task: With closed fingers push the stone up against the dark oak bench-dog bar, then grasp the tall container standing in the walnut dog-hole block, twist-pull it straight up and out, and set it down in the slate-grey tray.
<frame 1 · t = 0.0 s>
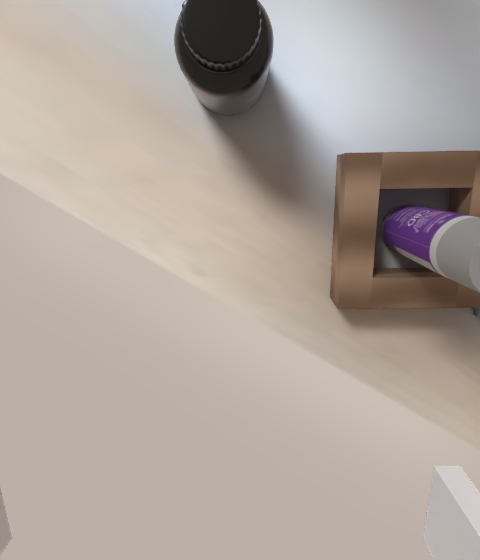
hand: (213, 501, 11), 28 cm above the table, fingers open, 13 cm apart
container: (404, 228, 37), resting in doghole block
supplement bottle: (228, 75, 34), on the table
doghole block: (405, 228, 37), on the table
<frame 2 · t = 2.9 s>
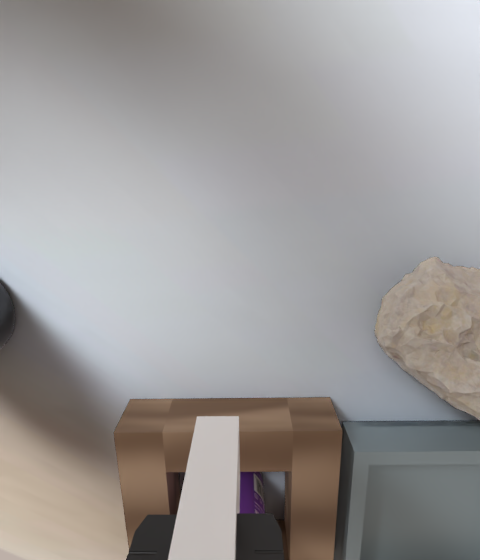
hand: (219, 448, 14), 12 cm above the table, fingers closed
container: (232, 476, 28), resting in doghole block
tray: (429, 499, 29), on the table
stone: (454, 326, 25), on the table
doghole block: (231, 479, 28), on the table
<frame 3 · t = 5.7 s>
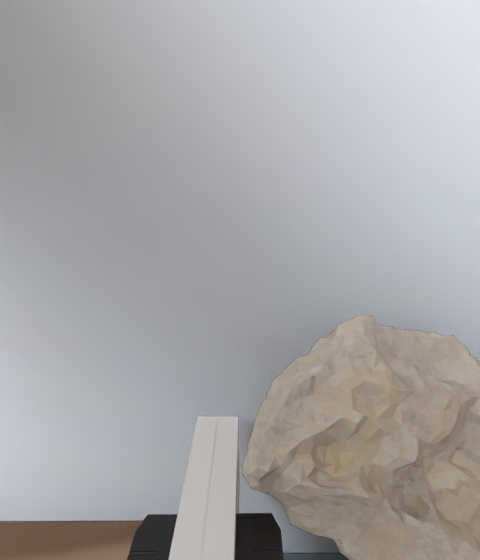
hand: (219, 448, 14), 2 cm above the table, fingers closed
stone: (406, 415, 16), on the table, touching gripper
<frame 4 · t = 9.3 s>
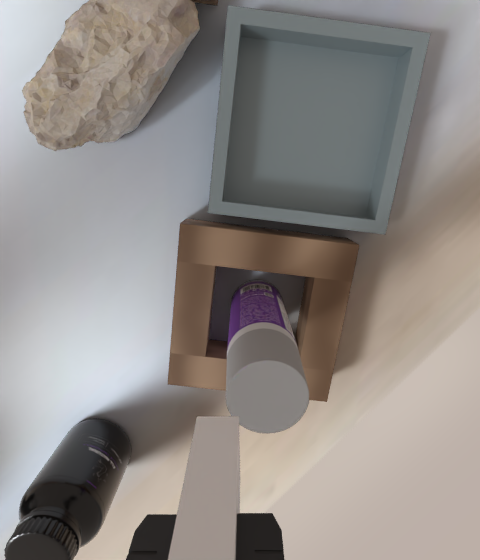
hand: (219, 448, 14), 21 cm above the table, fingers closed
container: (256, 303, 34), resting in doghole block
tray: (305, 132, 30), on the table
stone: (123, 73, 30), on the table
supplement bottle: (100, 443, 39), on the table
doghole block: (256, 304, 34), on the table
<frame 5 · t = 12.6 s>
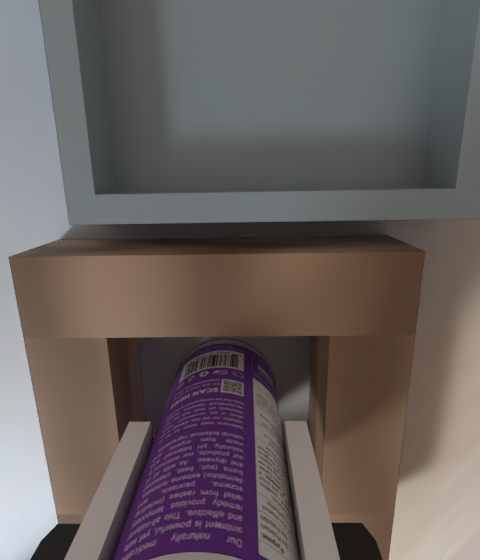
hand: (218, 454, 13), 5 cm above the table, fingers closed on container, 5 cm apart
container: (225, 381, 18), resting in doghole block, touching gripper
tray: (268, 20, 14), on the table
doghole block: (225, 383, 18), on the table
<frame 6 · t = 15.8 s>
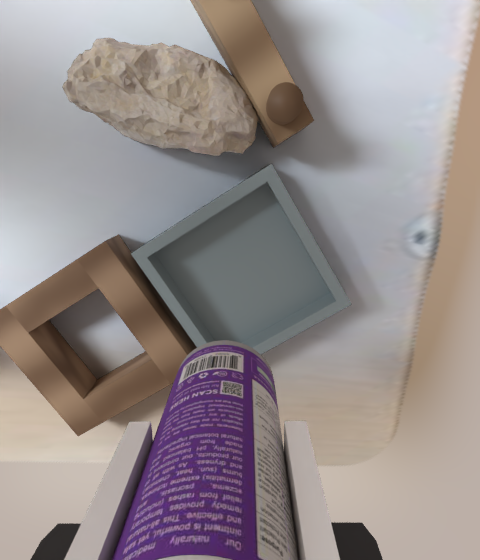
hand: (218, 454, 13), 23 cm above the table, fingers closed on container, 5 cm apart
container: (225, 382, 18), point 18 cm above the table, touching gripper
dog bar: (245, 60, 31), on the table
tray: (243, 270, 36), on the table
stone: (178, 105, 32), on the table
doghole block: (104, 330, 37), on the table
when the fingers open (7 cm above the table, at t = 19.2 s): container drops 1 cm, resting on tray.
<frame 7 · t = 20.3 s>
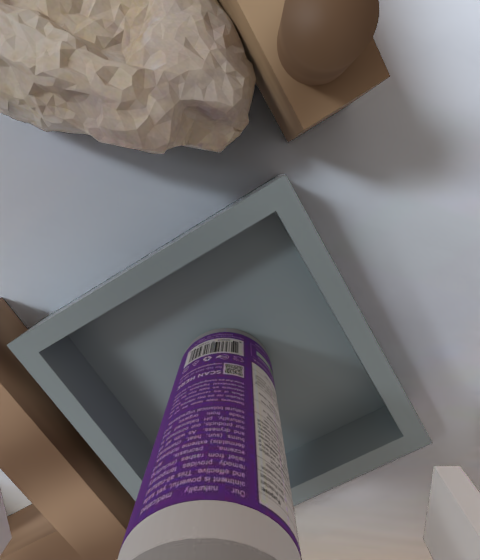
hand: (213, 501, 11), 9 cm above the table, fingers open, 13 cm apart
container: (226, 367, 19), resting on tray
tray: (228, 363, 20), on the table
stone: (103, 52, 16), on the table
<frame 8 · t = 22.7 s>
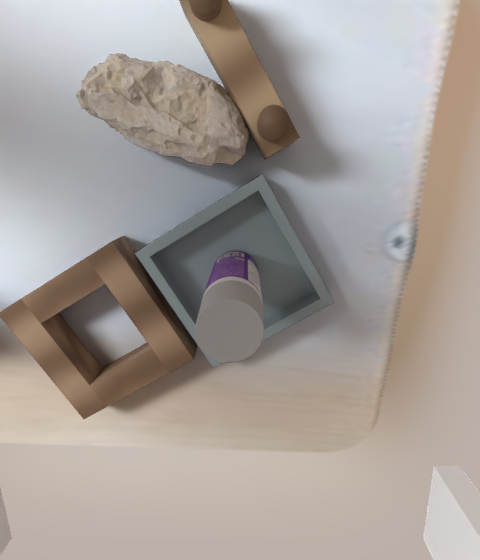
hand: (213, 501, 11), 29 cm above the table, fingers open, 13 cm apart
container: (235, 271, 39), resting on tray
dog bar: (240, 81, 34), on the table
tray: (236, 270, 39), on the table
stone: (179, 117, 35), on the table
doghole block: (109, 323, 41), on the table
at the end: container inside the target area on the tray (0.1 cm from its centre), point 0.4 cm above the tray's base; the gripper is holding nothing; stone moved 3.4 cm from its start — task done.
